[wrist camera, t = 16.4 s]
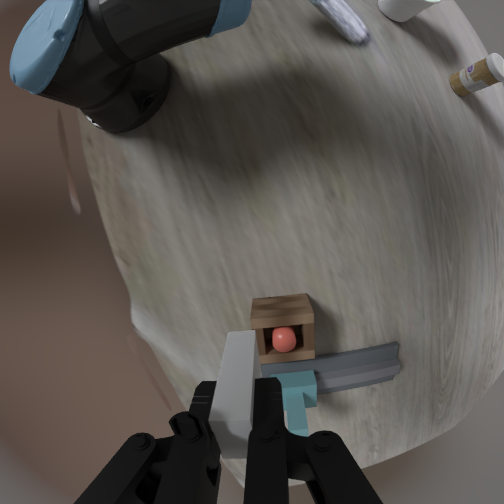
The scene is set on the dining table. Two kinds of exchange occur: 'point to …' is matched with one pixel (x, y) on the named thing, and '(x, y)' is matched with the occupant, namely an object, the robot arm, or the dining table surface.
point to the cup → (404, 8)
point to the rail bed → (344, 368)
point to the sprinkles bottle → (478, 75)
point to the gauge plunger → (283, 338)
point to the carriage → (298, 398)
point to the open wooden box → (283, 314)
